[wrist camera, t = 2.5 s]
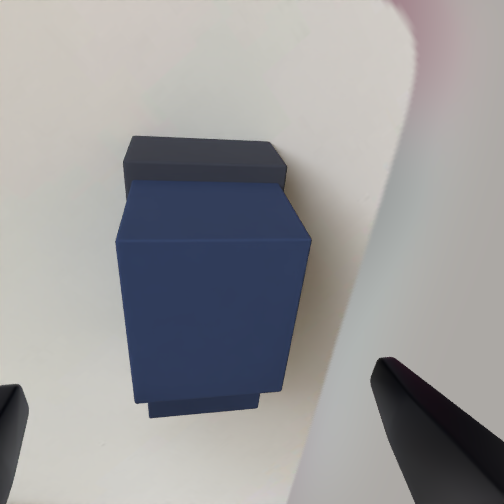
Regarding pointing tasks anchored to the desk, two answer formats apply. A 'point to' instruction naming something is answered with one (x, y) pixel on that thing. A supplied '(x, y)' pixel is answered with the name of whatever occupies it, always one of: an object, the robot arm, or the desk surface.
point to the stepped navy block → (208, 272)
